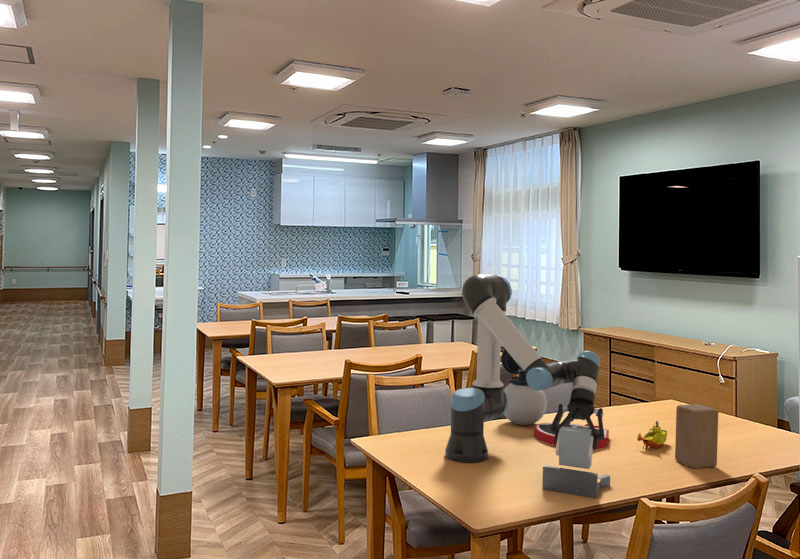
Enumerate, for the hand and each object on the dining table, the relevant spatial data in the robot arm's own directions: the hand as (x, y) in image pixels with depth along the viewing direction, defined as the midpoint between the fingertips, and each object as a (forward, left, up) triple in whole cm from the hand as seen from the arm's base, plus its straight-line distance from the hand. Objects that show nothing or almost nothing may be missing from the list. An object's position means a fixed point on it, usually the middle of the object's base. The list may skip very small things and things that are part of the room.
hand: (573, 455), depth 194 cm
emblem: (+29, +53, -12) cm, 61 cm away
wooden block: (+57, +16, -11) cm, 60 cm away
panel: (+2, +2, -4) cm, 5 cm away
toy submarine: (+56, +37, -11) cm, 68 cm away
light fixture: (+21, +80, -11) cm, 83 cm away
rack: (+3, +4, -11) cm, 12 cm away
